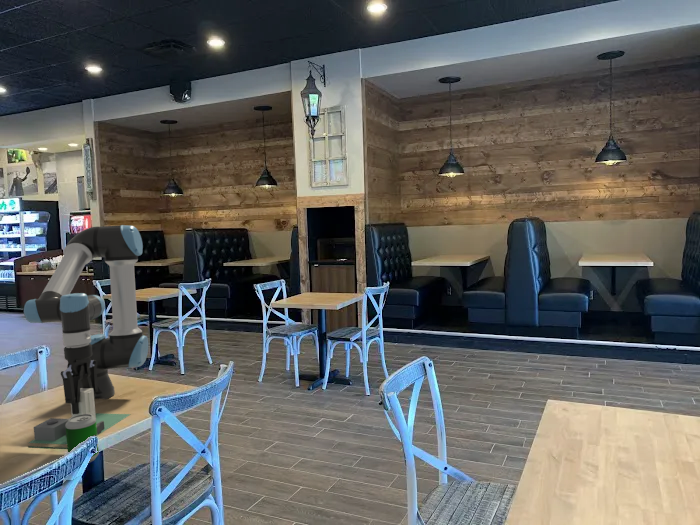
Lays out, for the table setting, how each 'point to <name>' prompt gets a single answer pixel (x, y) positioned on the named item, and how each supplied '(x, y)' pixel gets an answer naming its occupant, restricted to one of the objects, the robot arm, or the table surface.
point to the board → (56, 429)
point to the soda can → (81, 431)
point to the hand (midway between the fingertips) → (84, 420)
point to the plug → (87, 401)
